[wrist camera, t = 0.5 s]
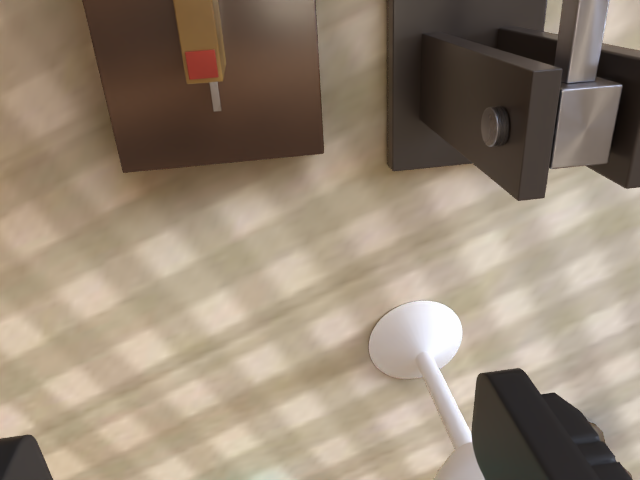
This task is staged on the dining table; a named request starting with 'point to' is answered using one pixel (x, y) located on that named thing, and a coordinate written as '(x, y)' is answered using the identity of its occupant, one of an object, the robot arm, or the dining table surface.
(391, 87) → the handle bracket
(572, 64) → the door handle
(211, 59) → the bar
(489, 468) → the robot arm
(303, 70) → the plate
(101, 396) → the dining table surface
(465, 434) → the champagne flute
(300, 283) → the dining table surface
